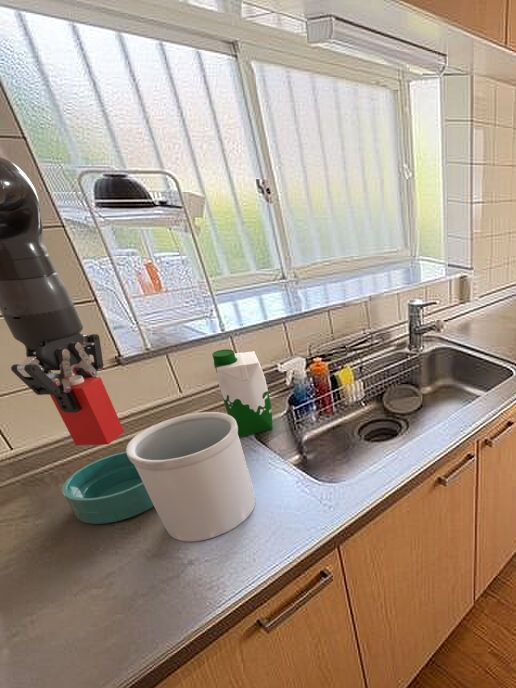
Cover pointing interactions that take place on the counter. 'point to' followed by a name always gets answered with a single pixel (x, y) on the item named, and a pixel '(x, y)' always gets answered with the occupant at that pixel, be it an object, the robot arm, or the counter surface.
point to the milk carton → (244, 391)
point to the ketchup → (91, 413)
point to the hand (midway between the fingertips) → (84, 403)
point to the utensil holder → (195, 474)
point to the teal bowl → (107, 491)
